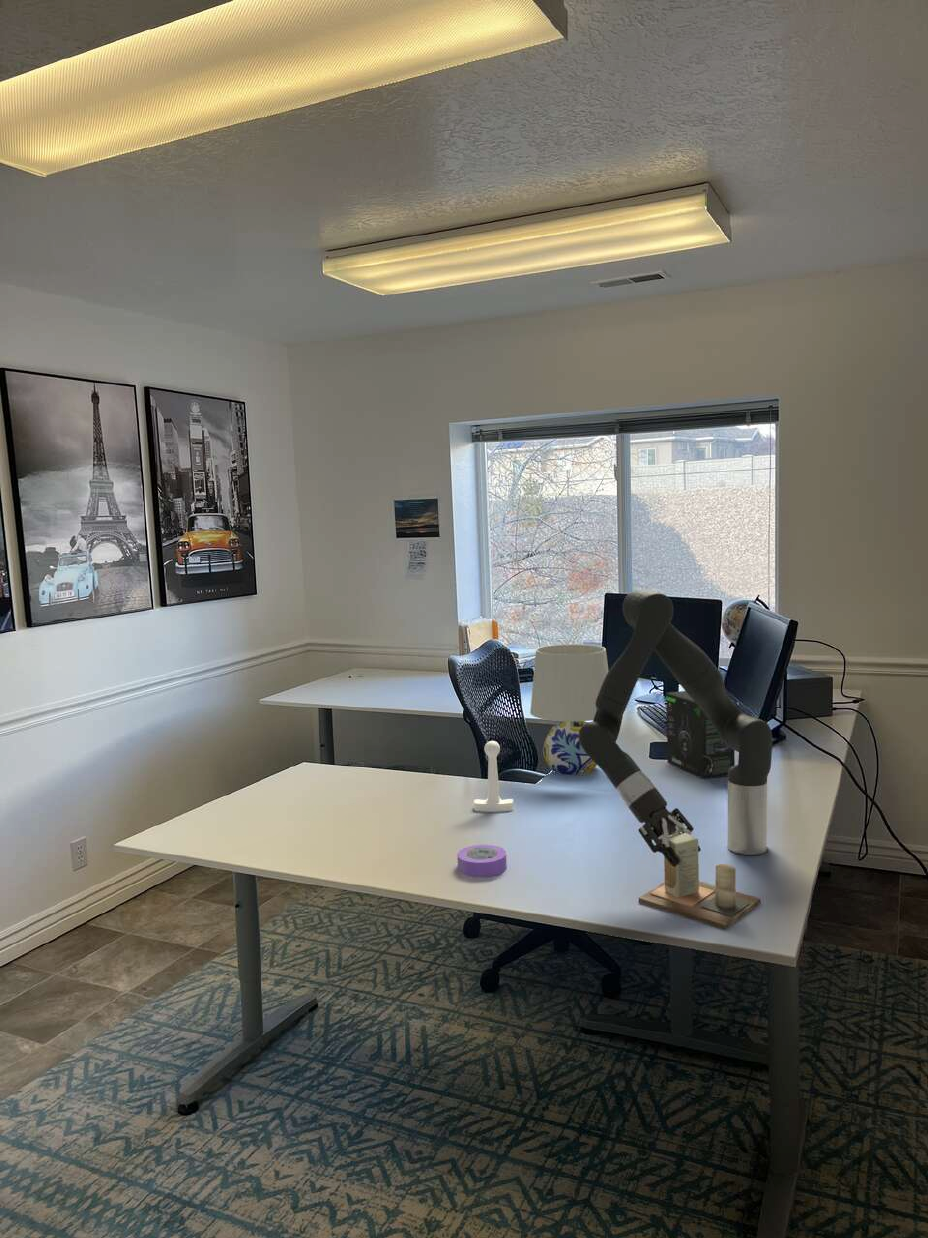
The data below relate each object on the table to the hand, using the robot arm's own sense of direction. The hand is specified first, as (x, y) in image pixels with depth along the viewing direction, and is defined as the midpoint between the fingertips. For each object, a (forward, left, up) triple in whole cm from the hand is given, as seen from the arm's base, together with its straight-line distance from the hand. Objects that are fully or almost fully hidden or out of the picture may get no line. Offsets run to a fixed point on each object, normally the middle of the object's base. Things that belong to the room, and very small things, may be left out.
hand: (687, 858), depth 190 cm
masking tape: (+15, -46, -10) cm, 50 cm away
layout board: (0, +3, -9) cm, 10 cm away
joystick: (-20, -73, -9) cm, 77 cm away
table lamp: (-65, -78, -9) cm, 102 cm away
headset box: (-91, -46, -9) cm, 103 cm away
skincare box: (0, -1, -8) cm, 8 cm away
